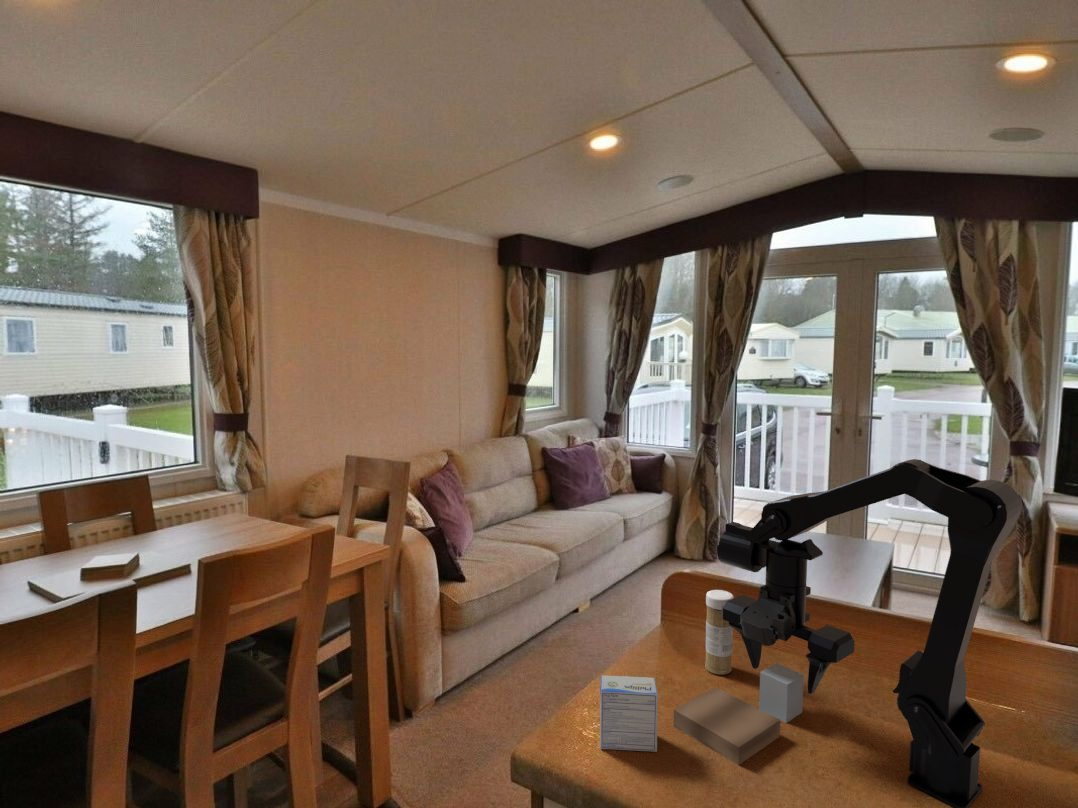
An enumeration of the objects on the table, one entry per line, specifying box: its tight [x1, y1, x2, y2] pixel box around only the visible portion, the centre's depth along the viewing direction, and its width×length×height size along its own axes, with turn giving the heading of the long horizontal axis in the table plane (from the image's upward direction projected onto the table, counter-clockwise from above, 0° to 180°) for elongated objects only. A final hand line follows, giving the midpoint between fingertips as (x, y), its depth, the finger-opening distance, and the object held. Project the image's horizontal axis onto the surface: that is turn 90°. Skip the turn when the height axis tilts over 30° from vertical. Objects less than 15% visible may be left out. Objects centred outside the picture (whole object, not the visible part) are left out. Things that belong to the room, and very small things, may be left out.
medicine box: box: [599, 674, 659, 753], centre depth 88 cm, size 8×4×9 cm, turn 84°
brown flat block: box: [673, 686, 781, 766], centre depth 91 cm, size 11×10×3 cm
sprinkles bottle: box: [704, 589, 735, 676], centre depth 108 cm, size 5×5×14 cm
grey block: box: [758, 663, 805, 724], centre depth 96 cm, size 4×4×6 cm
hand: (782, 680), depth 96 cm, fingers open, 9 cm apart
